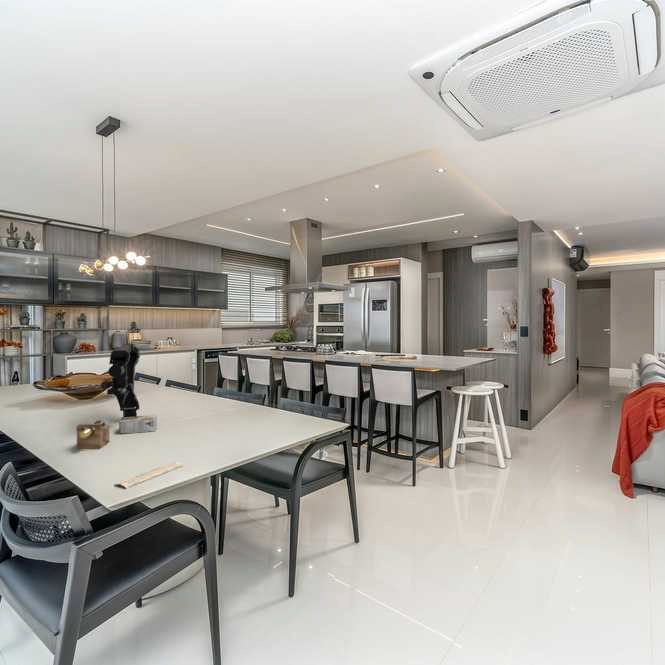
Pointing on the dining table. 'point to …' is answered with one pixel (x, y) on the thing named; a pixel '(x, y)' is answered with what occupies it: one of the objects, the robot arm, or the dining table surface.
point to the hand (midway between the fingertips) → (121, 405)
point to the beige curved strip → (150, 475)
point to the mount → (93, 437)
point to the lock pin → (90, 430)
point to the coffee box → (137, 424)
